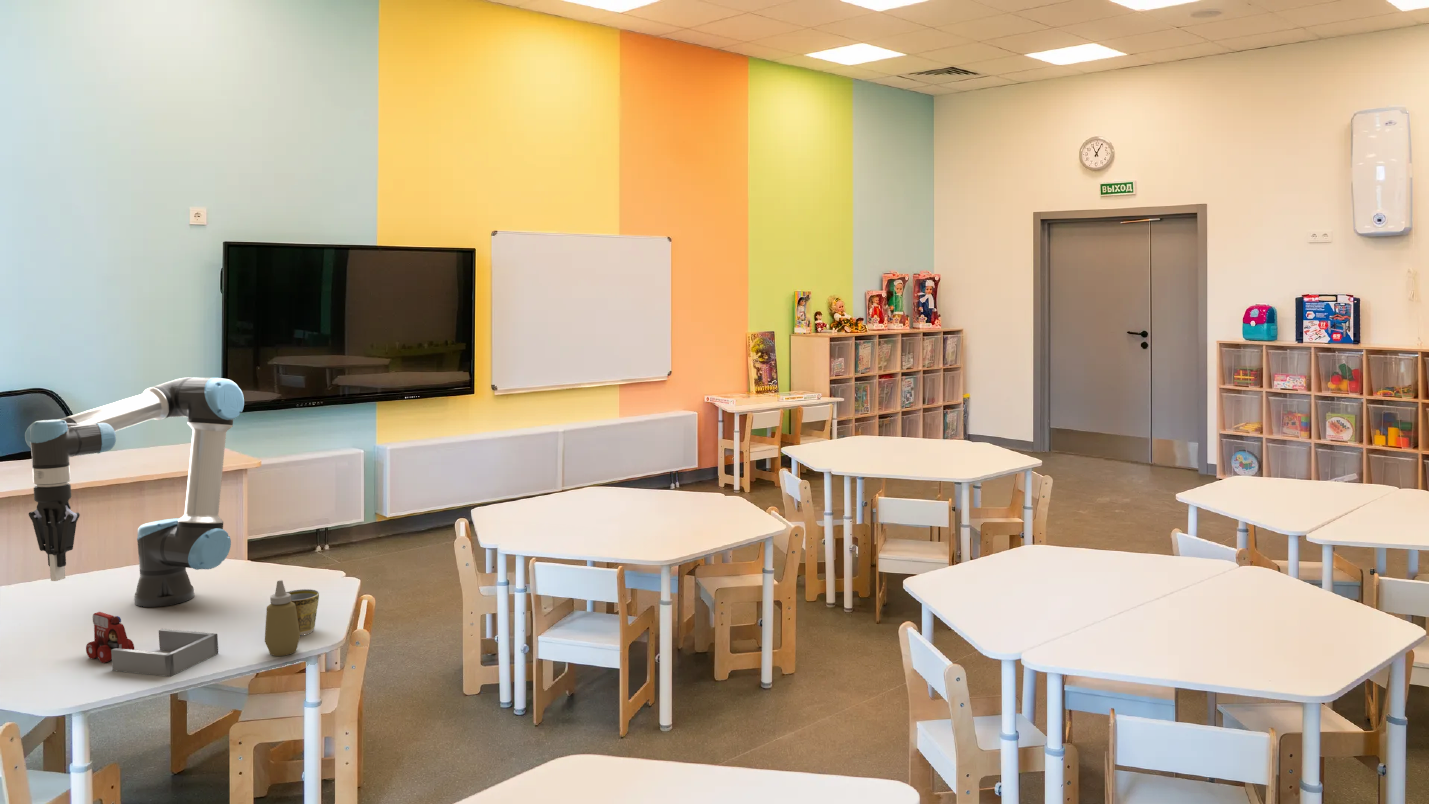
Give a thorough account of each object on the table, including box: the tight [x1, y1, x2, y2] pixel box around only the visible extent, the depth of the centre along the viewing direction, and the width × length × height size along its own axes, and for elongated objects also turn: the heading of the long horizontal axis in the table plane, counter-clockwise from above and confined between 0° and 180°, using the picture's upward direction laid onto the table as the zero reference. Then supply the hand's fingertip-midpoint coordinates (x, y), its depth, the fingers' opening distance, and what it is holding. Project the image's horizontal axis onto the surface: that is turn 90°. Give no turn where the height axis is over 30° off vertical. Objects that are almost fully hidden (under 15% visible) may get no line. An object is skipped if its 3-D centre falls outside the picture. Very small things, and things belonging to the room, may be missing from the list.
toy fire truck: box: [85, 611, 135, 664], centre depth 241 cm, size 7×12×10 cm, turn 59°
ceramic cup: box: [286, 588, 320, 636], centre depth 260 cm, size 13×10×10 cm
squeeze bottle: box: [264, 579, 301, 657], centre depth 243 cm, size 8×8×18 cm
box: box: [111, 628, 219, 678], centre depth 238 cm, size 16×15×5 cm
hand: (58, 579), depth 243 cm, fingers closed
